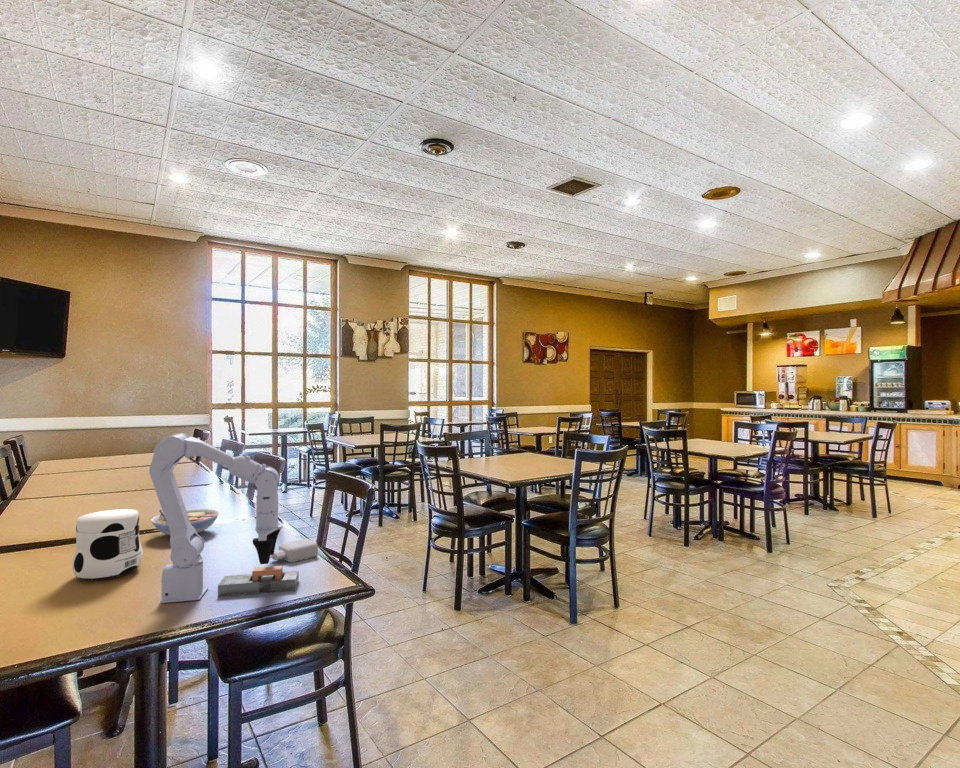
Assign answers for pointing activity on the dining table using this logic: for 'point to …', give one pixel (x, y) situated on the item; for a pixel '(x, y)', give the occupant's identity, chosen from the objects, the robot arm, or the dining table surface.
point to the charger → (296, 550)
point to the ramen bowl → (197, 518)
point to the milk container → (107, 544)
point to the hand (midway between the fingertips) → (267, 559)
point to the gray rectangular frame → (257, 584)
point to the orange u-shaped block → (267, 572)
